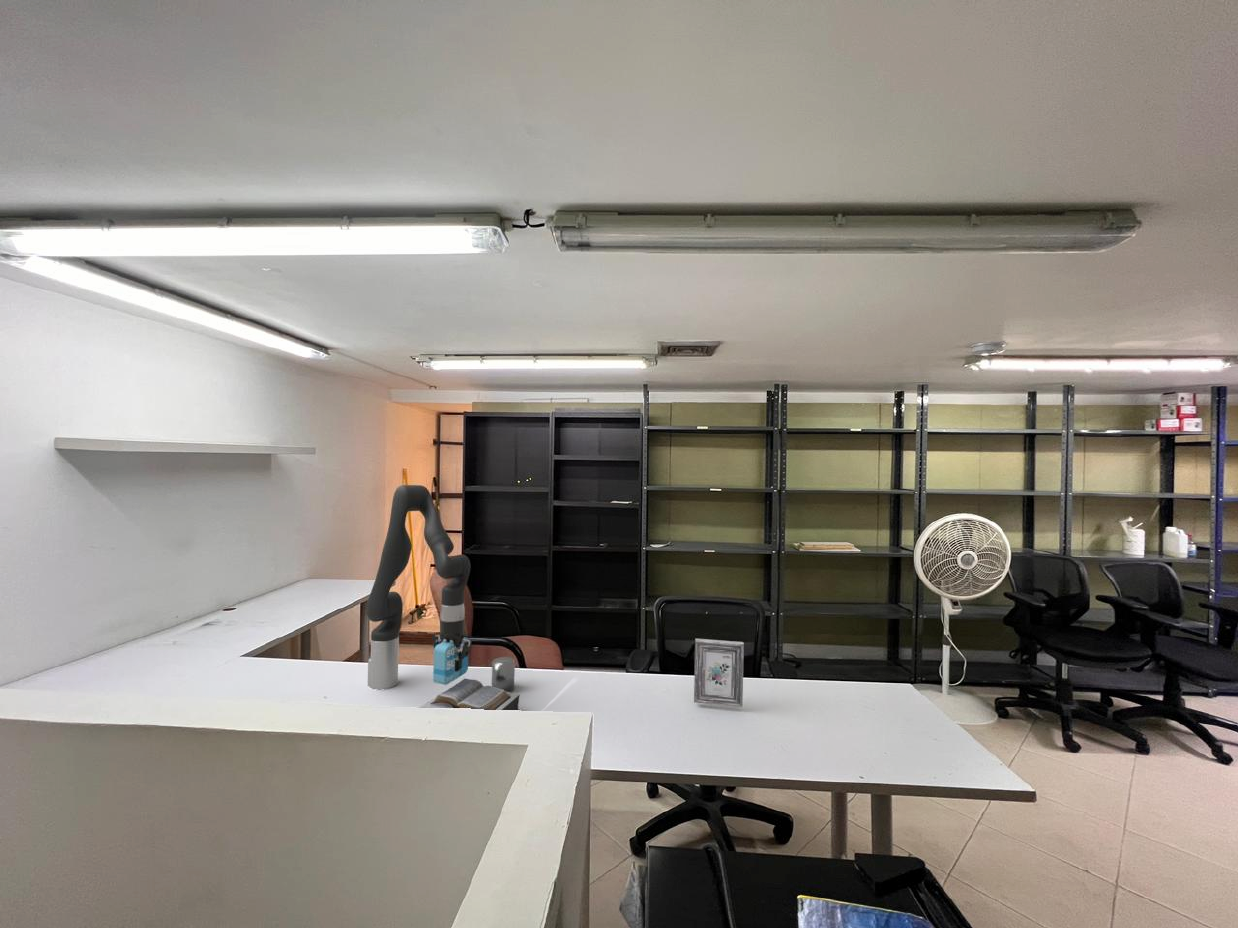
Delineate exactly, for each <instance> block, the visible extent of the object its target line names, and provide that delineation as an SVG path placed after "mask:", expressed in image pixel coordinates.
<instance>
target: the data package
mask: <svg viewBox="0 0 1238 928" xmlns="http://www.w3.org/2000/svg"><path fill="white" fill-rule="evenodd" d="M464 638H465V639H467V640H469V638H468V637H466V636H464ZM461 644H462V645H463V642H462V643H461ZM459 648H460V646H459V647H458V648H456V649H457V650H458V649H459ZM462 648H463V646H462ZM458 653H459V652H458ZM455 660H456V658H455V654H454V644H450V642H447V643H444V642H442V641H441V643H440V644H438V645H437V646H436V647H435V649H434V648H433V672H432V674H433V675H432V677H433V678H432V680H433V682H434V683H435V684H440V685H445V686H447V685H449V684H450V683H452V682H454V681H455V680H457V679H459V678H461V677H462V676H463V675H465V674H466V673H468V669H469V655H468V656H467V657H465V658H464V659H462V668H461V669H460V670H459V671H458V672H456V671H455Z"/></svg>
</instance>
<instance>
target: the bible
mask: <svg viewBox="0 0 1238 928" xmlns="http://www.w3.org/2000/svg"><path fill="white" fill-rule="evenodd" d="M519 703H520V694H519V693H513V692H506V691H505V690H503V689H499V688H496V687H492V685H485V686H484V685H483V683H482V682H481V681H479V680H476V679H472V678H462V680H460V681H459V682H457V683H455V684H454V685H453V686H451V687H449V688H448V689H446V690H445V691H443V692H440V693H438V694H437V696H436V697H434V698H433V699H431V700H430V701H428V702H426V703H425V704H423V705H422V706H420V707H419V709H420V708H471V709H484V710H519V711H520V709H519Z"/></svg>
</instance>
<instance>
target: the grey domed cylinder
mask: <svg viewBox="0 0 1238 928" xmlns="http://www.w3.org/2000/svg"><path fill="white" fill-rule="evenodd" d="M515 664H516V659H515V658H513V657H510V656H501V657H497V658H494V659H493V660H492V662H491V665H492V666H491V686H492V687H496V688H499V689H503V690H505V691H506V692H510V693H513V692H514V690H515V674H516V673H515V672H516V671H515V670H516V665H515Z"/></svg>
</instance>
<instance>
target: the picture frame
mask: <svg viewBox="0 0 1238 928" xmlns="http://www.w3.org/2000/svg"><path fill="white" fill-rule="evenodd" d="M694 639H695V641H694V681H693V682H694V686H693V687H694V689H693V690H694V691H693V692H694V694H693V703H697V704H708V705H719V706H730V707H739V708H742V707H743V703H744V702H743V698H744V697H743V695H744V694H743V692H744V659H745V658H744V656H745V655H744V653H745V652H744V651H745V648H744V647H745V646H744V645H745V643H744V642H743V641H736V640H735V641H732V640H731V641H730V640H721V639H720V640H719V639H707V638H706V639H705V638H694Z"/></svg>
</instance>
